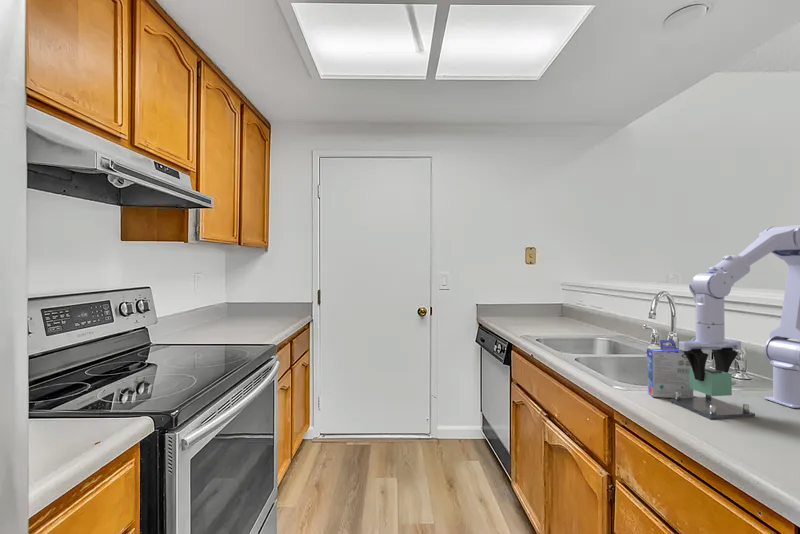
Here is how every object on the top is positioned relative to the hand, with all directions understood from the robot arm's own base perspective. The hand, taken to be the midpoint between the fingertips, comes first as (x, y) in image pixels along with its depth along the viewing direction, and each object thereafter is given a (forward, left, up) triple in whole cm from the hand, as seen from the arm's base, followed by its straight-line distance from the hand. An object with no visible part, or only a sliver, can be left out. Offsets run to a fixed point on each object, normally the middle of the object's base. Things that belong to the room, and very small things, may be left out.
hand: (710, 379), depth 109 cm
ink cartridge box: (+2, -12, -7) cm, 14 cm away
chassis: (0, 0, -7) cm, 7 cm away
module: (0, 0, -3) cm, 3 cm away
